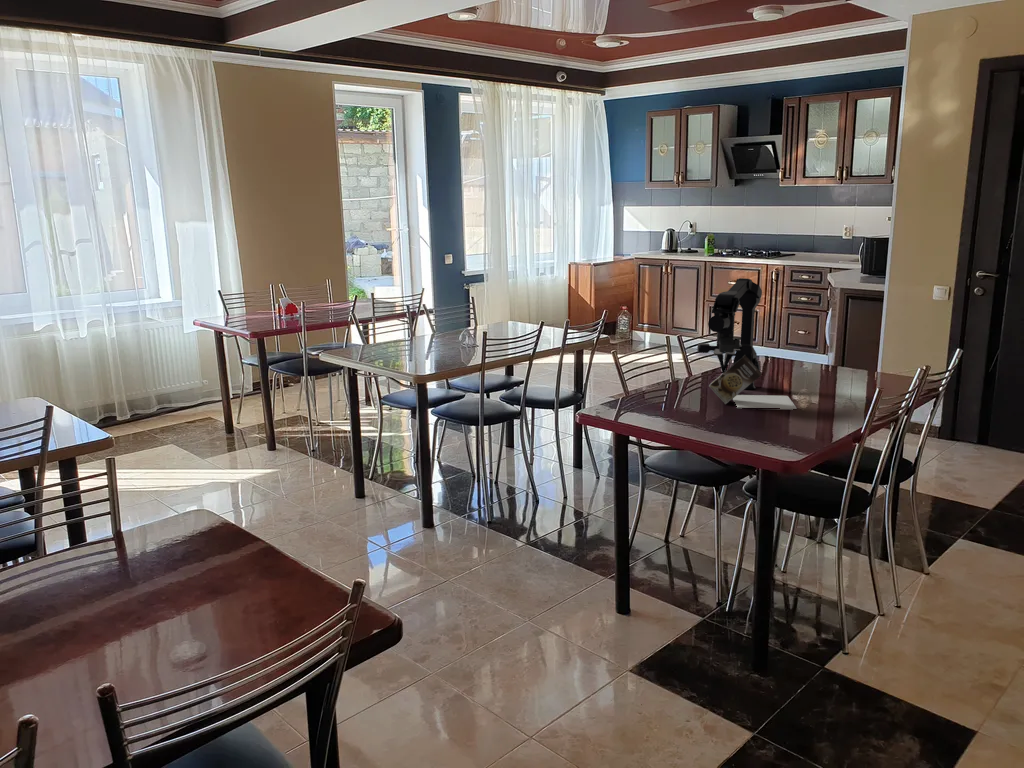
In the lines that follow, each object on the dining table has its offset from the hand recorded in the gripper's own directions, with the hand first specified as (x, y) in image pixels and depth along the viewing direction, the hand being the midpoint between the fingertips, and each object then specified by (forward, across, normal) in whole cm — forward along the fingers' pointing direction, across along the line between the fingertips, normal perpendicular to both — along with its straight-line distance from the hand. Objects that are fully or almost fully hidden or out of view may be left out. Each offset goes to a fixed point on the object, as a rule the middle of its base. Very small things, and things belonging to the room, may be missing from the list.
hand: (723, 372), depth 284 cm
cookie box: (+8, -2, 0) cm, 8 cm away
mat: (+11, +14, +1) cm, 18 cm away
